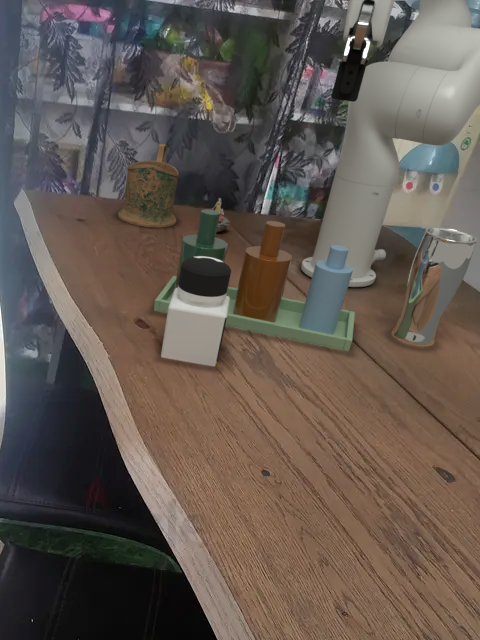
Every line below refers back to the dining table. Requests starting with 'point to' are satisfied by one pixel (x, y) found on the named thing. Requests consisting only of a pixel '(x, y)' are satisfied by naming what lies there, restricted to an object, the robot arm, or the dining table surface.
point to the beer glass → (433, 283)
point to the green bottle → (203, 241)
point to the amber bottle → (263, 276)
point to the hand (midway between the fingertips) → (345, 95)
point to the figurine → (221, 217)
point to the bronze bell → (150, 192)
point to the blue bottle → (327, 292)
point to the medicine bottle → (198, 312)
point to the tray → (277, 321)
